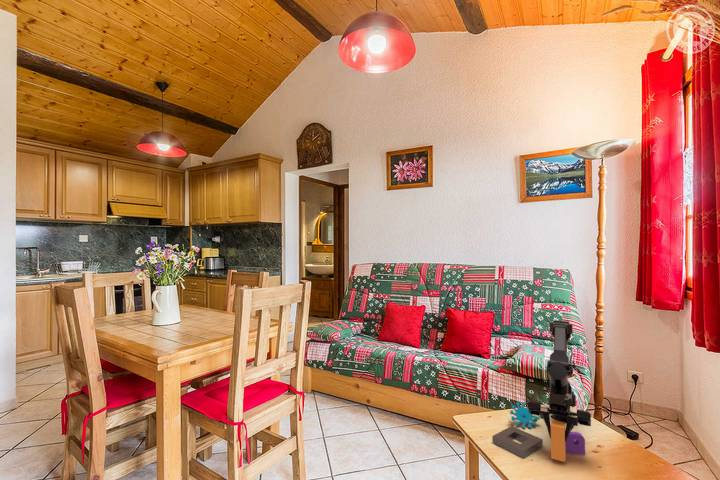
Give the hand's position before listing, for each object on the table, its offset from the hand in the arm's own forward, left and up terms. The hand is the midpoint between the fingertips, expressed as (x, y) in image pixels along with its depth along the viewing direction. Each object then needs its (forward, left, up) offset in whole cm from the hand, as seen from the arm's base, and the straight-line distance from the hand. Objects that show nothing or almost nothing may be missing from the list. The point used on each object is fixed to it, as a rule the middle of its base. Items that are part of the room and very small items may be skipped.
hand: (557, 439), depth 120 cm
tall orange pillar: (-1, -1, -7) cm, 7 cm away
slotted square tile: (+1, -14, -8) cm, 16 cm away
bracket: (-14, -4, -8) cm, 17 cm away
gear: (-15, -20, -8) cm, 26 cm away
